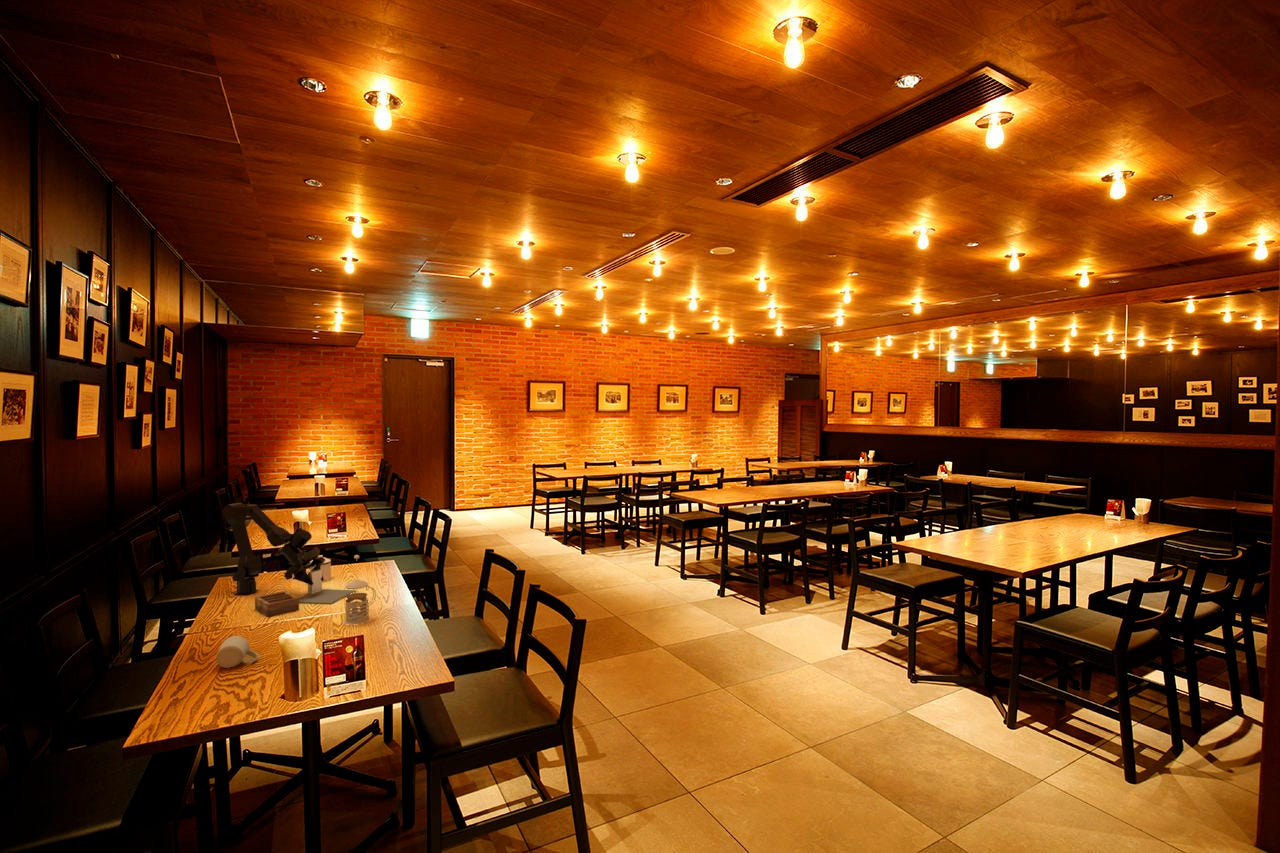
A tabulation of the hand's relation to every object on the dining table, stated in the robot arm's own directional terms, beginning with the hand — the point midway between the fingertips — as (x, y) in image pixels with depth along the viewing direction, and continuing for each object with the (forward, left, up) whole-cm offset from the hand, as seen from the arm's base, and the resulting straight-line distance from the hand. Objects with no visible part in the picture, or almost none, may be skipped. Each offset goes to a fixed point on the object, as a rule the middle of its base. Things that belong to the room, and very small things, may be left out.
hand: (317, 582), depth 256 cm
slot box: (-6, -17, -6) cm, 19 cm away
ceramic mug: (+17, -66, -7) cm, 69 cm away
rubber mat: (+2, +1, -6) cm, 7 cm away
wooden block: (-1, 0, -4) cm, 4 cm away
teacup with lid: (-17, +25, -7) cm, 30 cm away
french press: (+33, -25, -7) cm, 42 cm away
